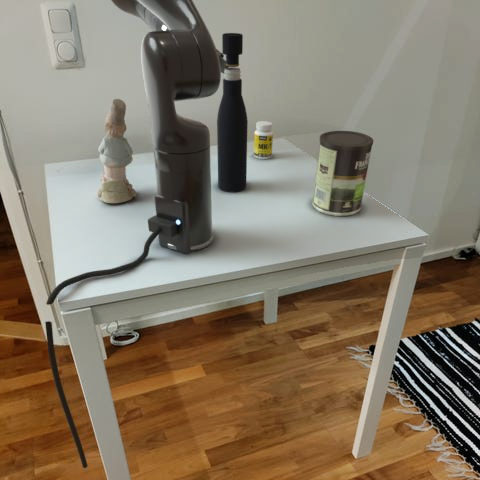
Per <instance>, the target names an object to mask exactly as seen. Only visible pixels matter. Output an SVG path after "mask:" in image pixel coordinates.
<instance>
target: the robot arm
mask: <svg viewBox="0 0 480 480" xmlns="http://www.w3.org/2000/svg"><path fill="white" fill-rule="evenodd" d="M110 1H111V2H112V3H113V5H114V6H115V7H116V8H118V9H119V10H121V11H122V12H124V13H127V14H129V15H131V16H134V17H136V18H139V19H141V20H142V21H143V22H144V23H145V24H146V25H147V26H148V27H149V29H150V30H151V31H148V32H147V33H146V34H145V35H144V36H143V38H142V41H141V45H140V62H141V71H142V77H143V85H144V91H145V98H146V103H147V113H148V121H149V127H150V133H151V139H152V148H153V158H154V168H155V179H156V191H157V194H155V195H154V206H155V215H153V216H151V217H149V218H148V219H147V226H148V231H149V232H150V233H151V234H150V235H149V237H148V238H147V239H146V241H145V243H144V246H143V250H142V253H141V255H140V256H139V257H138V258H137V259H135V260H134V261H132V262H129V263H126V264H123V265H119V266H116V267H113V268H108V269H99V270H93V271H88V272H83V273H81V274H79V275H75V276H72V277H70V278H67V279H65V280H63V281H61V282H60V283H58V285H56V287H54V289H52V291H51V292H50V294H49V296H48V298H47V301H46V303H45V304H46V305H48V306H50V305H52V304H54V302H55V300H56V298H57V297H58V295H59V294H60V293H61V291H63V290H64V289H65V288H67V287H68V286H71V285H73V284H77V283H79V282H81V281H84V280H87V279H91V278H96V277H105V276H112V275H115V274H119V273H122V272H126V271H128V270H132V269H134V268H136V267H138V265H140V264H141V263H143V262H144V261H145V260H146V259H147V258H148V256H149V252H150V247H151V245H152V243H153V242H154V240H156V238H157V237H158V245H159V246H161V247H164V248H167V249H170V250H173V251H177V252H179V253H182V254H188V253H190V252H193V251H199V250H203V249H205V248H207V247H209V246H210V245H211V244H212V243H213V241H214V235H213V233H214V232H213V217H212V216H213V215H212V214H213V211H212V176H211V175H212V174H211V171H212V170H211V169H212V168H211V134H210V133H211V132H210V129H209V127H208V126H207V124H205V123H203V122H201V121H199V120H195V119H192V118H189V117H184V116H182V115H180V114H178V113H177V109H176V105H175V102H182V101H190V100H200V99H205V98H209V97H211V96H213V95H215V94H216V92H217V91H218V90H219V87H220V85H221V80H222V74H225V73H224V71H225V68H229V67H228V66H226V59H224V57H225V54H223V53H222V52H221V51H219V49H217V47H216V44H215V42H214V40H213V37H212V35H211V33H210V30H209V29H208V26H207V25H206V23H205V21H204V19H203V17H202V16H201V13H200V12H199V10H198V8H197V6H196V4H195V3H194V0H110ZM44 323H45V333H46V343H47V344H46V345H47V351H48V358H49V363H50V368H51V372H52V376H53V380H54V384H55V387H56V392H57V394H58V397H59V398H58V399H59V400H60V403H61V406H62V409H63V412H64V416H65V418H66V421H67V424H68V426H69V429H70V432H71V435H72V438H73V440H74V443H75V446H76V449H77V451H78V455H79V458H80V463H81V465H82V468H83V469H87V468H88V462H87V459H86V455H85V451H84V448H83V445H82V442H81V439H80V436H79V433H78V430H77V427H76V424H75V421H74V418H73V416H72V413H71V410H70V407H69V404H68V401H67V398H66V395H65V391H64V388H63V384H62V380H61V376H60V372H59V367H58V363H57V358H56V349H55V343H54V332H53V322H52V321H49V320H48V321H45V322H44Z"/></svg>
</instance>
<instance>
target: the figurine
mask: <svg viewBox="0 0 480 480" xmlns="http://www.w3.org/2000/svg"><path fill="white" fill-rule="evenodd" d="M126 109H127V105H126V103H125V101H124V100H122V99H120V98H114V99H113V100H112V101H111V104H110V107H109V112H108V114H107V115H106V118H105V121H104V124H103V125H104V130H105V131H104V132H105V133H106V135H105V136H104V137H102V138H103V139H102V141H101V143H100V145H99V146H98V148H97V149H98V153H99V160H100V161H101V164H102V166H104V167H103V168H104V172H103V173H102V175H101V178H100V182H101V186H100V188H98V191H97V196H98V199H99V200H100V201H102V202H104V203H106V204H121V203H124V202H128V201H131V200H132V199H134V197H137V196H138V193H137V191H136V189H135V188H133V184H132V183H130V181H129V180H128V178H127V175H126V173H127V172H126V171H127V170H126V167H128V166H129V165H131V163H133V158H134V157H133V155H134V150H133V148H132V146H131V145H130V143H129V142H128V139H127V137H124V135H125V133H126V131H127V124H126V120H125V117H126Z"/></svg>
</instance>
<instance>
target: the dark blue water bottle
mask: <svg viewBox="0 0 480 480" xmlns="http://www.w3.org/2000/svg"><path fill="white" fill-rule="evenodd" d="M221 39H222V43H221V44H222V45H221V46H222V47H221V48H222V49H221V50H222V52H221V53H222V54H223V55H224V56H225V61H226V66H228V68H225V71H224V73H223V77H224V78H223V79H222V96H221V99H220V103H219V107H218V111H217V117H216V137H217V139H216V140H217V141H216V143H217V145H216V147H217V187H218V189H219V190H221V191H222V192H225V193H238V192H242V191H244V190H246V188H247V169H248V168H247V167H248V165H247V164H248V121H249V120H248V114H247V108H246V104H245V101H244V97H243V89H242V88H243V80H242V78H241V77H242V74H241V73H242V71H241V68H240V67H239V66H240V55H243V48H244V47H243V43H244V42H243V39H244V35H243V33H239V32H238V33H237V32H225V33H222V37H221Z"/></svg>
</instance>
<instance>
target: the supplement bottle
mask: <svg viewBox="0 0 480 480" xmlns="http://www.w3.org/2000/svg"><path fill="white" fill-rule="evenodd" d="M255 125H256V127H255V128H256V130H255V131H254V139H253V140H254V141H253V157H254V158H256V159H259V160H267V159H270V158H272V156H273V154H272V153H273V145H274V144H273V142H274V132H273V122H271V121H266V120H259V121H257V122H256V124H255Z"/></svg>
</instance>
